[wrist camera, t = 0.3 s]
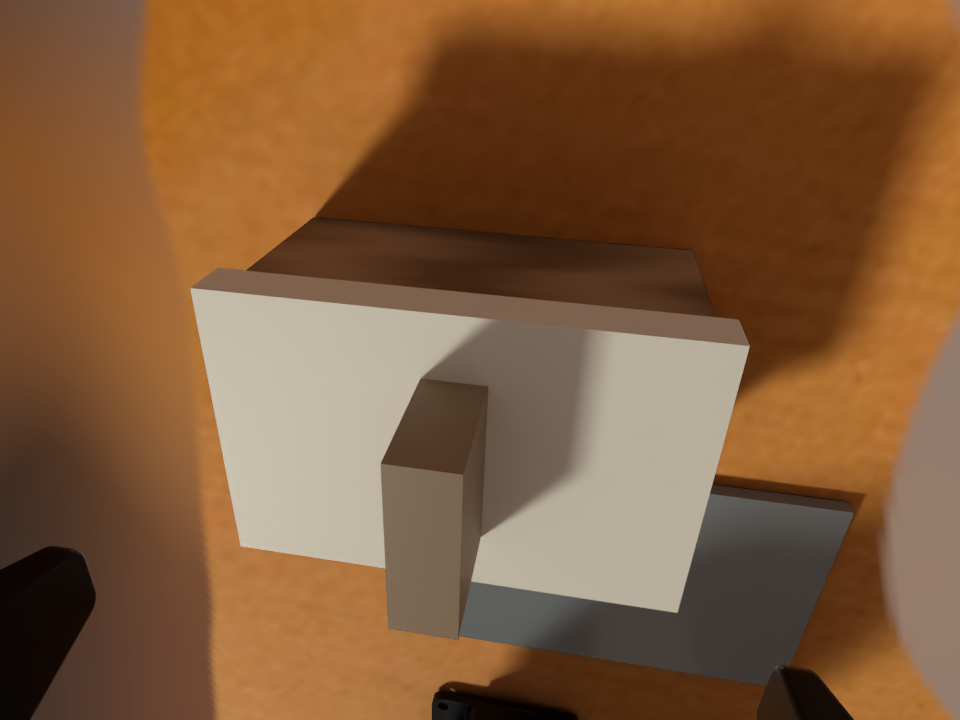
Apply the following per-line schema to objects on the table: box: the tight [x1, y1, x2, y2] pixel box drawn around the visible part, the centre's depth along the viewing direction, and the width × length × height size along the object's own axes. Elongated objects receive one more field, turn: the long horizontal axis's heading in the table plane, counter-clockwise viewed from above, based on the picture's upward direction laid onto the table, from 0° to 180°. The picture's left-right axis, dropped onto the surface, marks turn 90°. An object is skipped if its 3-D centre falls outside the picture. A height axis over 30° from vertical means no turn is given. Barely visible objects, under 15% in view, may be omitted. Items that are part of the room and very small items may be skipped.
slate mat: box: [459, 485, 854, 686], centre depth 24 cm, size 9×13×1 cm
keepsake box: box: [246, 217, 716, 317], centre depth 19 cm, size 11×7×5 cm, turn 88°
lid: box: [190, 268, 750, 640], centre depth 15 cm, size 12×8×5 cm, turn 88°
